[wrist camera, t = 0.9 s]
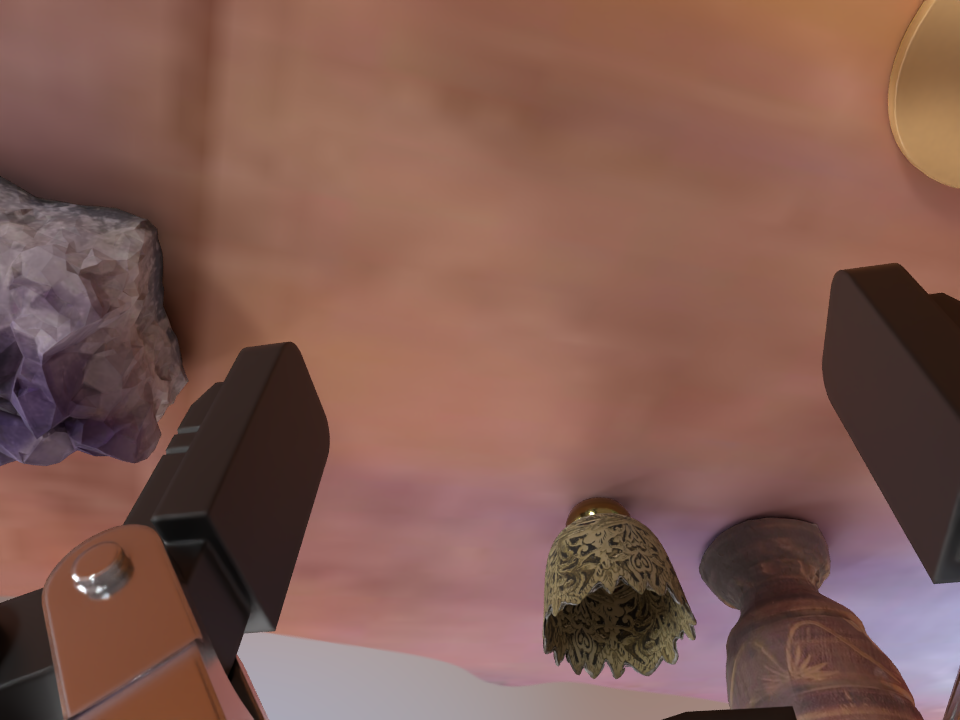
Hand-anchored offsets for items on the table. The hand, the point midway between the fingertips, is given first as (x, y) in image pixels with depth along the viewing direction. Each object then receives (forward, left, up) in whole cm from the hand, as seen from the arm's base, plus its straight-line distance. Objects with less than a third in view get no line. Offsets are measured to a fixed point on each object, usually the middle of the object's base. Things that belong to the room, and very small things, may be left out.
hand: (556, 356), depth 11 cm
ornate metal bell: (+26, -1, -19) cm, 32 cm away
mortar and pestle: (+34, +7, -19) cm, 39 cm away
